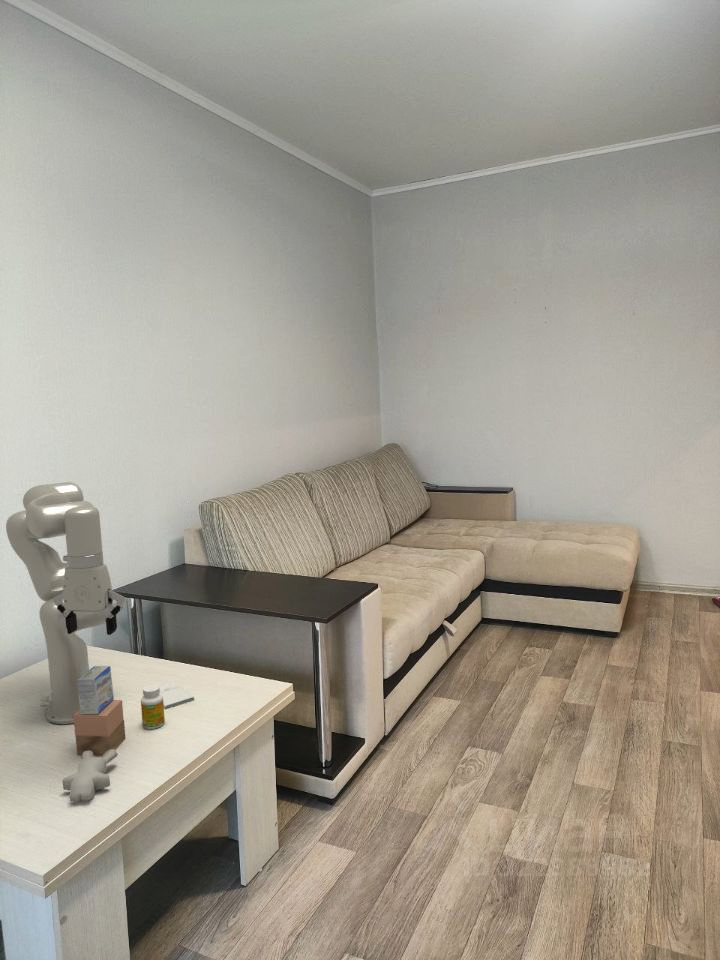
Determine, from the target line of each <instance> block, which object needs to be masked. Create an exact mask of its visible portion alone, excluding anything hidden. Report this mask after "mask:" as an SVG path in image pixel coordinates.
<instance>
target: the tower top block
mask: <svg viewBox="0 0 720 960" xmlns="http://www.w3.org/2000/svg"><path fill="white" fill-rule="evenodd" d="M123 708H124V707H123V700H122V699H113V700H112V701H111V702H110V703H109V704H108V705H107V706H106V707H105V708H104V709H103V710H102V711H101V712H100V713H99V714H81V712H80V709H79V710H78V711H77V712H76V713H75V714H74V715H73V717H74V723H73V724H74V725H73V726H74V728H73V729H74V735H75V736H76V735H80V736H109V735H110V734H111V733H112V732H113V730H114V729H115V728H116V727H117V726H118V725H119V724H120V723H121V722H122V721H123V720H124V709H123ZM124 721H125V720H124Z"/></svg>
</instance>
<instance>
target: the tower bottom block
mask: <svg viewBox="0 0 720 960" xmlns="http://www.w3.org/2000/svg"><path fill="white" fill-rule="evenodd" d="M125 740H126V729H125V720H123V721H122V722H121V723H120V724H119V725H118V726H117V727H116V728H115V729H114V730H113V732H112V733H111V734H110V735H109V736H80V735H75V743H76V745H75V746H76V754H77V756H82V755H83V752H85V751H88V750H89V751H92V752H93V757H102V756H103V755H104V754H105V752H107V751H108V750H110V749H115V751H116V750H117V749H118V748H119V747H120V746H121V744H122V743H123V742H124V741H125Z"/></svg>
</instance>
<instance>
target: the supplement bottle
mask: <svg viewBox="0 0 720 960" xmlns="http://www.w3.org/2000/svg"><path fill="white" fill-rule="evenodd" d="M159 687H160V685H159V684H148V685H145V686H144V687H143V688H142V694H143V696H142V697H141V698H140V708H141V709H140V710H141V721H142V722H141V723H142V727H143V728H144V729H147V730H155V729H159V728H161V727H163V725H165V722H166V720H165V719H166V718H165V709H164V703H163V696H162V694H160V688H159Z"/></svg>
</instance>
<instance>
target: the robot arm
mask: <svg viewBox="0 0 720 960" xmlns="http://www.w3.org/2000/svg"><path fill="white" fill-rule="evenodd" d="M22 505H23V507H24V510H21V511H17V512H15V513H13V514H11V515H10V516H8V518H7V520H6V524H5V529H6V530H5V532H6V535H7V539H8V541H9V543H10V546H11V548H12V550H13V551H14V552H15V554H16V555H17V556H18V557H19V559H20V560H21V561H22V562H23V563H24V565H25V567H26V569H27V572H28V574H29V577H30V580H31V582H32V585H33V587H34V590H35V592H36V593H37V596H38V597H39V599H40V600H41V601H43V602H44V603H42V604H41V606H40V607H39V611H38V613H39V620H40V621H39V622H40V624H41V628H42V631H43V635H44V640H45V644H46V652H47V653H46V654H47V662H48V672H49V674H48V675H49V683H50V684H49V685H50V694H51V695H42V696H41V697H40V702H39V707H40V708H41V707H43V708H48V711H47V713H46V718H47V721H48V722H49V723H53V724H54V725H55V724H56V725H70V724H74V717H73V715H74V714H75V713H76V712H77V711H78V710H79V709H80V703H79V695H78V687H77V680H78V679H79V678H80V677H81V676H83V675H84V674H85V673H86V672H87V671H89V670H90V664H89V654H88V653H89V652H88V646H87V643H86V642H85V641H84V640H83V638H81V636H79V635H77V634H76V633H77V632H78V631H82V630H85V629H90V628H94V627H97V626H102V625H104V624H105V626H106V635H107V636H111V635H112V634H113V633H115V632H116V631H117V629H118V623H117V621H118V619H117V615H118V614H119V612H121V610H122V609H123V608H124V604H125V602H126V600H127V599H126V597H125V596H123V595H121V594H120V593H118V592H116V591H114V590H113V587H112V580H111V575H110V573H109V570H108V567H107V564H105V562H104V555H103V543H102V542H103V541H102V540H103V539H102V528H101V527H102V526H101V519H100V518H101V515H100V511H99V509H98V508H97V507H96V506H94V505H93V504H92V503H91V502H89V501H86V500H84V492H83V491H82V489H81V488H80V486H79V485H78V484H77V483H75V482H71V481H67V482H58V483H57V482H55V483H47V484H39V485H34V486H32V487H31V488H29V489H28V490H27V491H26V492H25V493H24V495H23V497H22ZM64 536H65V543H66V546H65V547H66V555H63V557H62V559H61V557H60V555H59V552H58V551H57V550H56V549H54V547H52V546H51V545H49V544H47V543H45V542H43V541H40V540H43V539H51V538H56V537H64ZM62 560H63V562H62ZM114 601H115V602H116V604H115V606H114V604H113V603H114Z"/></svg>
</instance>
